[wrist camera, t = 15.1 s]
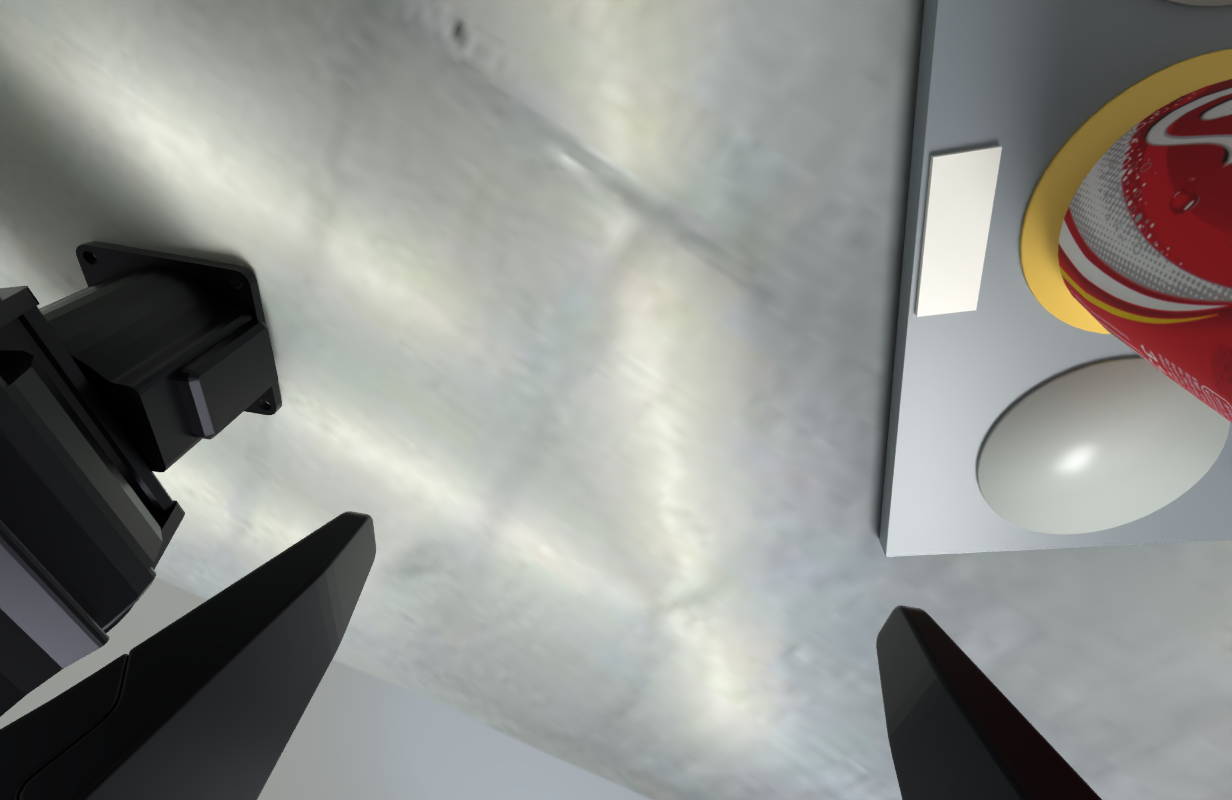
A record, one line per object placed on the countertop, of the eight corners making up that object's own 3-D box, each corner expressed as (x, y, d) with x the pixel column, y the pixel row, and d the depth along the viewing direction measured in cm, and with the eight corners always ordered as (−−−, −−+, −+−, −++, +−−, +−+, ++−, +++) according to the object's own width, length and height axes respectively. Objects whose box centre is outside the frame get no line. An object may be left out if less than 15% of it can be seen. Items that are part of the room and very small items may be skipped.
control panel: (1241, 520, 24) (1288, 561, 22) (879, 539, 26) (894, 578, 24) (1897, -748, 9) (2191, -933, 8) (962, -452, 12) (1014, -539, 10)
